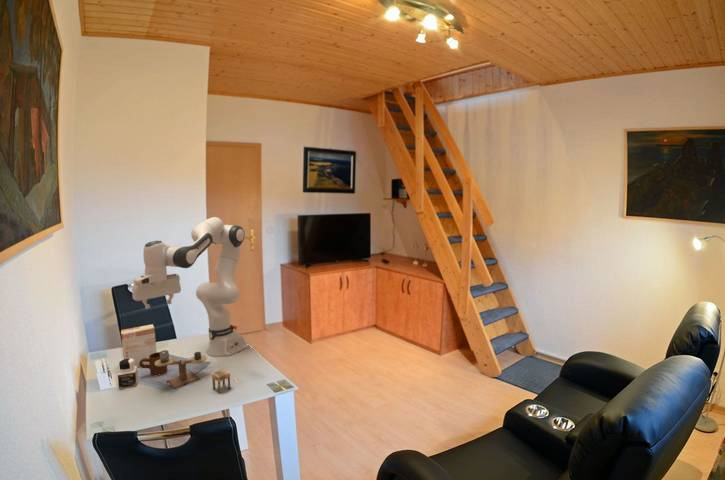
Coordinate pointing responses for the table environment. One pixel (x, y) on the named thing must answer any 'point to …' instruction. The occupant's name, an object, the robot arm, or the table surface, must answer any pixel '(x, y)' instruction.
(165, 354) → the grey domed cylinder
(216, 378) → the tan peg block
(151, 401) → the table surface
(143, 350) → the coffeecake box
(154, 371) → the mug
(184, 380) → the balance
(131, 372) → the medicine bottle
